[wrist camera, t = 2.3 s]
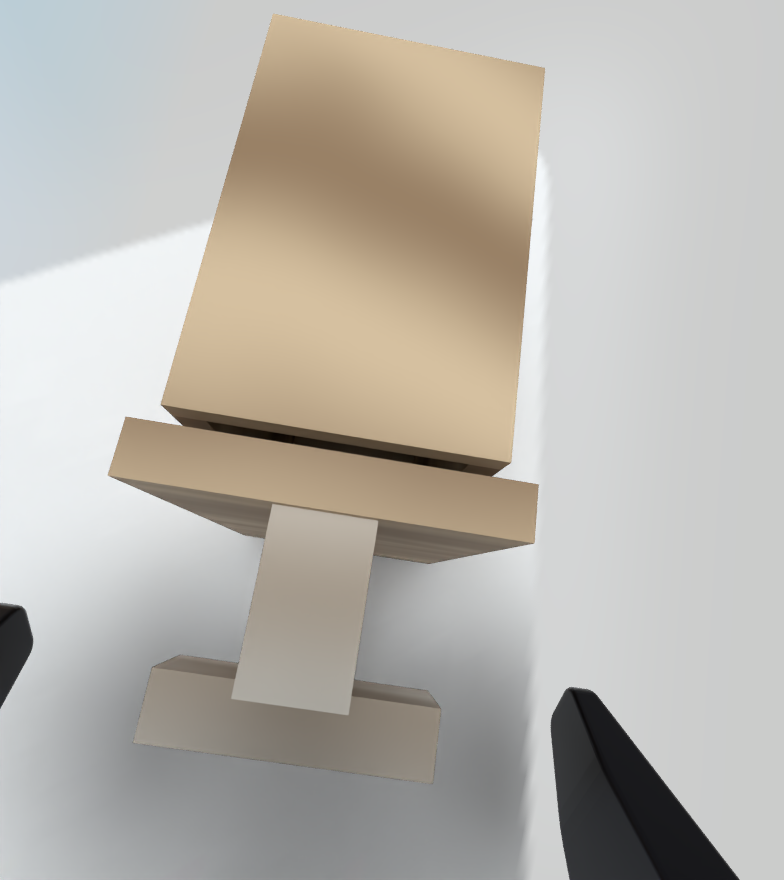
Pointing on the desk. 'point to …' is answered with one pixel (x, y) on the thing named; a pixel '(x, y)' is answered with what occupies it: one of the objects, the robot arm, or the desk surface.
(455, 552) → the flap
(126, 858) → the desk surface
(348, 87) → the carton
